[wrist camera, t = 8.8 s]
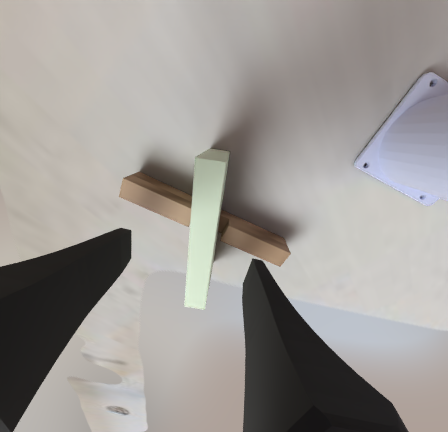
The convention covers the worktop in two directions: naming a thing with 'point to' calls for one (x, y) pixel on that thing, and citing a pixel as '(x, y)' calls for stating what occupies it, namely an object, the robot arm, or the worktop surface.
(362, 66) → the worktop surface
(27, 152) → the worktop surface
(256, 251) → the walnut board
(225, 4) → the worktop surface
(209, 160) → the long pale green beam
